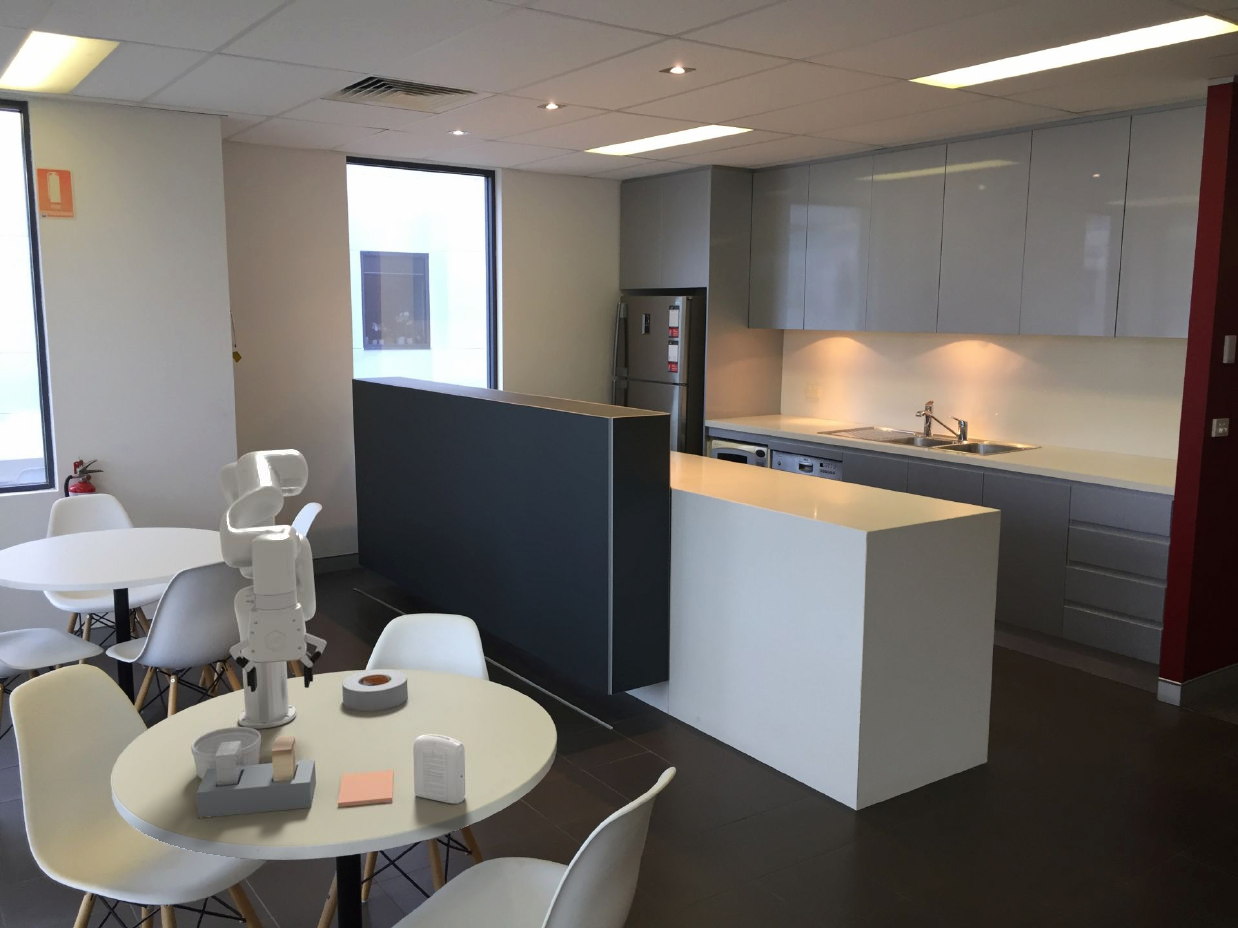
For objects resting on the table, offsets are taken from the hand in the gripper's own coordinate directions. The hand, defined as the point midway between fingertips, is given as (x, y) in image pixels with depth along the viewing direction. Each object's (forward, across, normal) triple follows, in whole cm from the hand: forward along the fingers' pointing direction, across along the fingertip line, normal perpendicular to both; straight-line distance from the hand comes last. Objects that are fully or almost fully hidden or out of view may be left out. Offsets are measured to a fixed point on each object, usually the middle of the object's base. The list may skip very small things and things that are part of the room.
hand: (280, 687), depth 188 cm
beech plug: (+22, 0, 0) cm, 22 cm away
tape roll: (+22, +15, +48) cm, 55 cm away
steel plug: (+22, -10, 0) cm, 24 cm away
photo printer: (+22, +29, -6) cm, 37 cm away
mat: (+22, +15, 0) cm, 27 cm away
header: (+22, -5, 0) cm, 23 cm away
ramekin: (+22, -13, +14) cm, 30 cm away
